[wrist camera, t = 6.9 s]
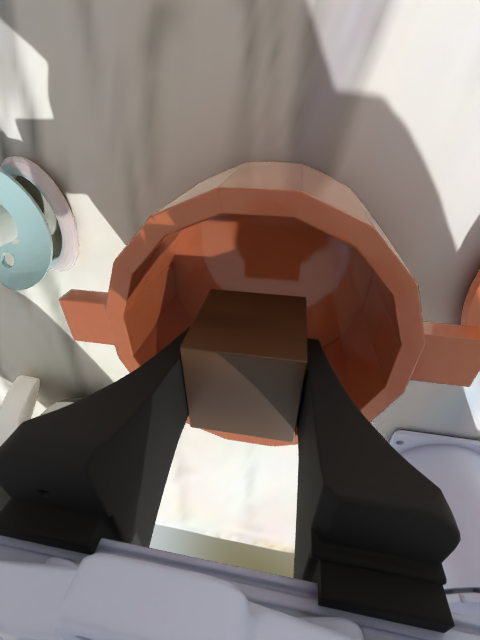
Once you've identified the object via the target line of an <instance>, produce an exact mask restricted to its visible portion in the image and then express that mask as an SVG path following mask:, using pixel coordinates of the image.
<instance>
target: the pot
mask: <svg viewBox="0 0 480 640" xmlns="http://www.w3.org/2000/svg"><path fill="white" fill-rule="evenodd" d="M210 289H218V290H230V291H241V292H253V293H265V294H276V295H288V296H300V297H306V301H307V338H309V339H318V340H319V341H320V343H321V346H322V348H323V350H324V353H325V355H326V357H327V359H328V361H329V363H330V365H331V367H332V369H333V370H334V372H335V374H336V376H337V377H338V379H339V381H340V382H341V384H342V386H343V387H344V389H345V390H346V392H347V393H348V395H349V396H350V398H351V399H352V401H353V402H354V403H355V405H356V406H357V407H358V409H359V410H360V411H361V412H362V414H363V415H364V416H365V417H366V419H367V420H368V421H369V422H371V421H372V420H373V419H374V418H375V417H376V416H378V415H379V414H380V413H381V412H382V411H383V410H385V409H386V408H387V407H388V406H389V405H390V404H391V403H393V402H394V401H395V400H396V399H397V398H398V397H400V396H401V395H402V394H403V393H404V391H405V389H406V387H407V385H408V382H409V380H415V381H424V382H432V383H441V384H449V385H458V386H466V387H469V386H470V385H471V384H472V382H473V380H474V379H475V377H476V375H477V374H478V372H479V370H480V327H479V326H468V325H457V324H446V323H435V322H424V321H423V319H422V311H421V303H420V295H419V286H418V285H417V282H416V280H415V279H414V277H413V276H412V274H411V273H410V271H409V270H408V268H407V267H406V265H405V264H404V262H403V261H402V259H401V258H400V256H399V255H398V253H397V252H396V250H395V249H394V247H393V246H392V244H391V243H390V241H389V240H388V238H387V237H386V235H385V234H384V232H383V231H382V229H381V228H380V226H379V225H378V224H377V222H376V221H375V220H374V218H373V217H372V216H371V214H370V213H369V212H368V210H367V209H366V207H365V206H364V205H363V204H362V202H361V201H360V200H359V198H358V197H357V196H356V194H355V193H354V192H353V190H352V189H350V188H349V187H348V186H346V185H344V184H342V183H340V182H338V181H336V180H335V179H333V178H331V177H330V176H328V175H327V174H324V173H322V172H320V171H317V170H315V169H312V168H310V167H308V166H306V165H304V164H301V163H287V162H277V161H269V162H247V163H243V164H241V165H238V166H236V167H234V168H231V169H229V170H226V171H223V172H222V173H220V174H218V175H215V176H213V177H211V178H209V179H206V180H204V181H202V182H200V183H199V184H197V185H196V186H194V187H193V188H191V189H190V190H188V191H187V192H185V193H184V194H182V195H181V196H179V197H178V198H177V199H175V200H174V201H172V202H171V203H169V204H168V205H166V206H165V207H163V208H162V209H160V210H159V211H157V212H156V213H154V214H153V215H152V216H150V217H149V218H148V220H147V221H146V222H145V223H144V225H143V226H142V227H141V228H140V230H139V231H138V232H137V233H136V234H135V236H134V237H133V238H132V239H131V241H130V242H129V243H128V244H127V246H126V247H125V248H124V249H123V250H122V252H121V253H120V254H119V255H118V257H117V258H116V259H115V261H114V263H113V268H112V274H111V280H110V286H109V291H108V293H107V292H97V291H86V290H75V289H72V290H70V291H68V292H67V293H66V294H65V295H63V296H62V297H61V298H59V302H60V304H61V307H62V310H63V312H64V315H65V318H66V320H67V323H68V325H69V328H70V331H71V333H72V336H73V339H74V340H76V341H85V342H93V343H102V344H110V345H115V347H116V351H117V354H118V356H119V359H120V360H121V361H122V363H123V364H124V365H125V367H126V368H127V369H128V371H129V372H130V373H131V372H133V371H134V370H136V369H137V368H138V367H140V366H141V365H143V364H144V363H145V362H147V361H148V360H149V359H151V358H152V357H153V356H155V355H156V354H157V353H159V352H160V351H161V350H162V349H163V348H165V347H166V346H167V345H168V344H170V343H171V342H172V341H173V340H174V339H175V338H177V337H178V336H179V335H180V334H181V333H182V332H184V331H185V330H186V329H187V328H188V327H190V326H191V325H192V323H193V322H194V320H195V318H196V316H197V314H198V312H199V310H200V308H201V306H202V304H203V302H204V301H205V299H206V297H207V295H208V293H209V291H210ZM186 423H188V424H190V419H189V416H188V418H187V421H186ZM202 430H205V431H207V432H210V433H212V434H215V435H217V436H219V437H222V438H224V439H228V440H235V441H241V442H247V443H254V444H260V445H267V446H284V445H295V444H298V433H297V428H296V433H295V439H294V442H286V441H280V440H273V439H267V438H260V437H253V436H247V435H240V434H233V433H227V432H220V431H213V430H207V429H202Z"/></svg>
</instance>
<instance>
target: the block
mask: <svg viewBox="0 0 480 640" xmlns="http://www.w3.org/2000/svg"><path fill="white" fill-rule="evenodd" d="M180 353H181V360H182V368H183V375H184V382H185V390H186V397H187V404H188V412H189V419H190V426H191V427H194V428H200V429H207V430H213V431H220V432H227V433H233V434H240V435H247V436H253V437H260V438H267V439H273V440H280V441H286V442H294V439H295V433H296V428H297V422H298V416H299V410H300V404H301V398H302V392H303V386H304V380H305V374H306V368H307V301H306V297H300V296H288V295H276V294H265V293H253V292H241V291H230V290H218V289H210V291H209V293H208V295H207V297H206V299H205V301H204V302H203V304H202V306H201V308H200V310H199V312H198V314H197V316H196V318H195V320H194V322H193V323H192V325H191V327H190V329H189V331H188V333H187V335H186V337H185V339H184V341H183V343H182V344H181V346H180Z"/></svg>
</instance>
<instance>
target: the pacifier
mask: <svg viewBox="0 0 480 640" xmlns="http://www.w3.org/2000/svg"><path fill="white" fill-rule="evenodd" d="M17 175H19V176H22V177H24V178H26V179H27V180H29V181H30V182H31V183H33V184H34V185H35V186H36V187H37V188H38V189H39V190H40V192H41V193H42V194H43V195H44V197H45V198H46V199H47V201H48V202H49V204H50V206H51V207H52V209H53V211H54V213H55V215H56V218H57V220H58V223H59V226H60V230H61V235H62V250H61V253H60V255H59V256H53V243H52V236H51V232H50V229H49V226H48V223H47V221H46V219H45V217H44V215H43V213H42V211H41V209H40V208H39V206H38V204H37V203H36V202H35V200H34V199H33V198H32V196H31V195H30V194H29V193H28V192H27V190H26V189H25V188H24V187H23V186H22V185H21V184H20V183H19V182H18V181H16V180H15V178H16V177H17ZM6 252H8V253H10V254H11V255H12V256H13V257H14V265H13V266H10V265H8V264H7V263H6V261H5V254H6ZM78 252H79V237H78V231H77V227H76V223H75V220H74V217H73V214H72V212H71V210H70V207H69V205H68V203H67V201H66V199H65V198H64V196H63V194H62V193H61V191H60V189H59V188H58V186H57V185H56V184H55V183H54V181H53V180H52V179H51V178H50V176H49V175H48V174H47V173H46V172H45V171H43V170H42V169H41V168H40V167H39V166H38V165H37V164H35V163H33V162H31V161H30V160H28V159H26V158H24V157H19V156H11V157H8V158H5V160H4V161H3V162H2V164H1V165H0V283H2V284H3V285H4V286H6V287H8V288H9V289H13V290H24V289H28V288H30V287H32V286H34V285H35V284H36V283H38V282H39V281H40V280H42V278H43V277H44V276H45V275H46V274H47V272H48V270H49V268H50V269H52V270H57V271H65V270H69V269H70V268H71V267H72V266H73V265H74V264H75V262H76V260H77V257H78Z"/></svg>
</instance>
